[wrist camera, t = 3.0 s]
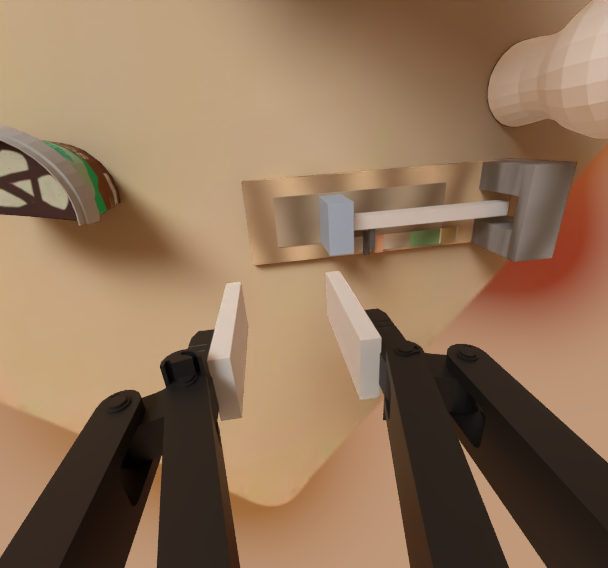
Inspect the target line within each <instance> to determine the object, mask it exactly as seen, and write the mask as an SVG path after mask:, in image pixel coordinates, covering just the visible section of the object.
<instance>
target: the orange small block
mask: <svg viewBox="0 0 608 568" xmlns="http://www.w3.org/2000/svg"><path fill="white" fill-rule="evenodd" d="M371 251H372V252H374V253H379V252H383V234H382V233H380V232H375V250H371Z"/></svg>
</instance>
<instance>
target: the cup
mask: <svg viewBox="0 0 608 568" xmlns="http://www.w3.org/2000/svg"><path fill="white" fill-rule="evenodd" d="M488 103H489V107H490V110H491V112H492V114H493V116H494V117H495V118H496V119H497V120H498V121H499V122H500V123H501V124H504V125H507V126H512V127H518V126H522V125H527V124H530V123H534V122H537V121H541V120H544V119H551V120H555V121H556V122H557V123H558V124H560V125H561V126H562V127H564V128H566V129H569V130H571V131H574V132H576V133H579V134H582V135H585V136H588V137H591V138H594V139H608V0H592V1H591V2H589V3H588V4H587V5H586V6H585V7H584V8H583V9H582V10H581V11H580V12H579V13H578V14H576V15H575V16H574V17H573V18H572V19H571V21H570V22H569V23H568V24H567V25H566V27H565V28H564V29H563V30H561V31H559V32H558V33H556V34H554V35H547V36H540V37H536V38H531V39H528V40H524V41H520V42H519V43H517V44H515V45H514V46H512V47H511V48H510V49H509V50H508V51H506V52H505V53H504V54H503V55H502V57H501V58H500V60H499V61H498V63H497V64H496V66H495V68H494V70H493V72H492V75H491V77H490V82H489V86H488Z"/></svg>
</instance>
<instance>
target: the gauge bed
mask: <svg viewBox="0 0 608 568" xmlns="http://www.w3.org/2000/svg"><path fill="white" fill-rule="evenodd" d="M576 165H577V162H569V161H549V160H529V159H500V160H488V161H476V162H464V163H453V164H441V165H429V166H417V167H405V168H393V169H382V170H370V171H358V172H346V173H334V174H322V175H311V176H299V177H287V178H275V179H263V180H251V181H242V182H241V184H242V191H243V198H244V205H245V212H246V219H247V226H248V233H249V240H250V247H251V254H252V261H253V265H261V264H271V263H280V262H289V261H299V260H308V259H317V258H327V257H336V256H345V255H355V254H363V231H366V230H368V229H365V230H355V231H354V254H345V255H336V256H329V254H328V252H327V251H326V249H325V248H324V246H323V244H322V243H321V233H320V212H319V196H325V195H336V194H342V195H343V196H345V197H347V198H348V199H350V200H352V201H353V202H354V214H355V213H366V212H376V211H387V210H397V209H407V208H418V207H428V206H439V205H449V204H459V203H470V202H480V201H491V200H504V201H510V195H515V196H519V197H518V202H517V207H516V212H515V217H510V216H507V215H504V216H494V217H484V218H474V219H464V220H454V221H444V222H434V223H424V224H414V225H405V226H395V227H385V228H376V230H375V232H380V233H382V234H383V251H392V250H401V249H411V248H420V247H429V246H439V245H448V244H457V243H467V242H472V243H474V244H476V245H479V246H481V247H483V248H485V249H487V250H490V251H492V252H494V253H496V254H498V255H500V256H503V257H505V258H507V259H509V260H511V261H514V262H519V261H528V260H537V259H545V258H552V256H553V252H554V248H555V244H556V240H557V237H558V233H559V229H560V225H561V221H562V218H563V214H564V210H565V206H566V202H567V199H568V195H569V191H570V187H571V184H572V180H573V176H574V172H575V168H576ZM370 253H373V252H372V251H371V250H370Z"/></svg>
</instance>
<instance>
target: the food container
mask: <svg viewBox="0 0 608 568" xmlns="http://www.w3.org/2000/svg"><path fill="white" fill-rule="evenodd" d="M119 203H120V198H119V192H118V189H117V187H116V185H115V183H114V181H113V179H112V176H111V175H110V174H109V172H108V171H107V170H106V169H105V168H104V166H103V165H102V164H101V163H100V162H99V161H98V160H97V159H95V158H94V157H93V156H91V155H90V154H88V153H87V152H86V151H84V150H82V149H79V148H77V147H74V146H72V145H68V144H63V143H56V142H49V141H42V140H39V139H37V138H35V137H33V136H31V135H29V134H27V133H25V132H22V131H19V130H16V129H13V128H11V127H6V126H1V125H0V214H3V215H18V216H31V217H43V218H54V219H64V220H75V221H78V224H79V226H81V225H84V224H91V223H95V222H98V221H100V216H99V215H100V214H102V213H104V212H105V211H107V210H109V209H110V208H112V207H114V206H115V205H117V204H119Z"/></svg>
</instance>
